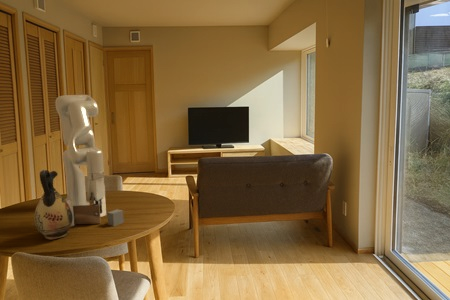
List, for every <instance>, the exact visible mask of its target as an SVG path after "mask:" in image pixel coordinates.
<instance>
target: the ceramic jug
mask: <svg viewBox="0 0 450 300" xmlns="http://www.w3.org/2000/svg"><path fill="white" fill-rule="evenodd" d="M57 176H58V172H57V171H56V170H52V171H49V170H46V169H42V170H41V171H40V172H39V179H40V180H39V181H40V184H41V187H42V189H43V194H42V195H41V197H40V199H39V201H38V203H37V204H36V206H35V210H34V211H35V212H34V215H33V216H34V218H33V219H34V225H35V228H36V229H37V231H39V233H41V234H42V235H43V236H44V238H45V239H46V240H56V239H60V238H64V237H66V236H67V235H69V234H68V231H69V230H70V228H71V227H72V226H71V224H72V221H73V215H72V212H71V209H70V207H69V205H68V203H67V202H66V201H65V199H66V198H64V197H63V196H62V195H61V193H59V192H58V191H57V190H56V188H55V187H54V179H56V177H57Z"/></svg>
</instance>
